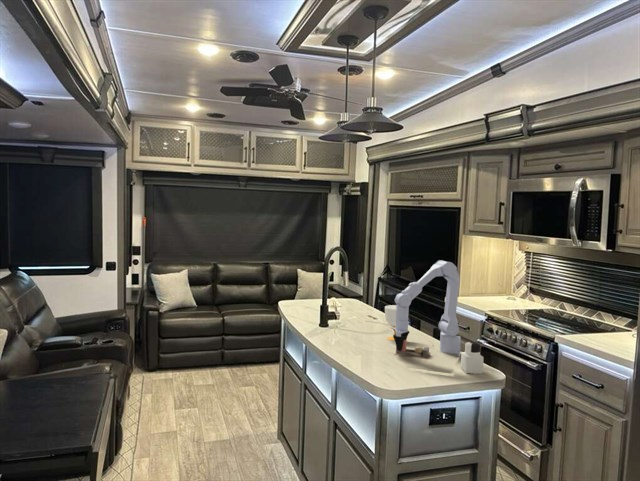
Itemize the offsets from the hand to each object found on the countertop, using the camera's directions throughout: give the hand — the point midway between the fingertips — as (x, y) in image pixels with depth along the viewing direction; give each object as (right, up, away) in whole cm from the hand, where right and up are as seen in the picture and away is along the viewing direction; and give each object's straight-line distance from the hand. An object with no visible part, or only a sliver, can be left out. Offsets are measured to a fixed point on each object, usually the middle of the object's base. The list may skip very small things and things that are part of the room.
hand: (400, 348), depth 219 cm
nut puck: (+8, -2, -3) cm, 9 cm away
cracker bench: (+5, -3, -2) cm, 6 cm away
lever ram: (0, -2, 0) cm, 2 cm away
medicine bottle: (+26, -5, -20) cm, 34 cm away
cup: (+2, -2, +27) cm, 27 cm away
